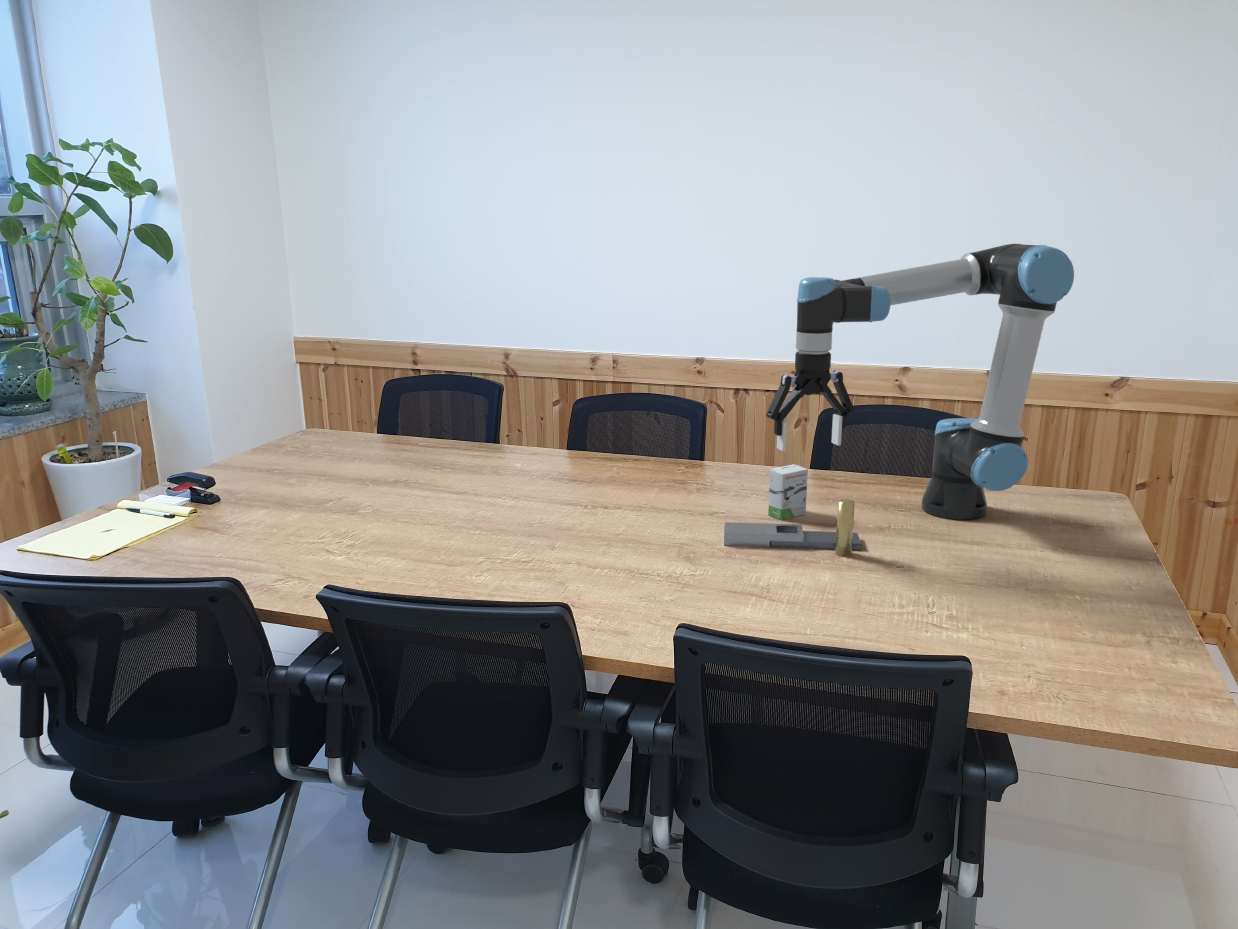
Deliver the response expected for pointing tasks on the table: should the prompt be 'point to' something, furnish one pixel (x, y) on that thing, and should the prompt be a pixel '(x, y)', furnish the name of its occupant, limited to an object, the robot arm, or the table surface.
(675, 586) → the table surface
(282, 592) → the table surface
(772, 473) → the ink box
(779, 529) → the chain end grey
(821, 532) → the chain end dark
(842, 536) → the pin
